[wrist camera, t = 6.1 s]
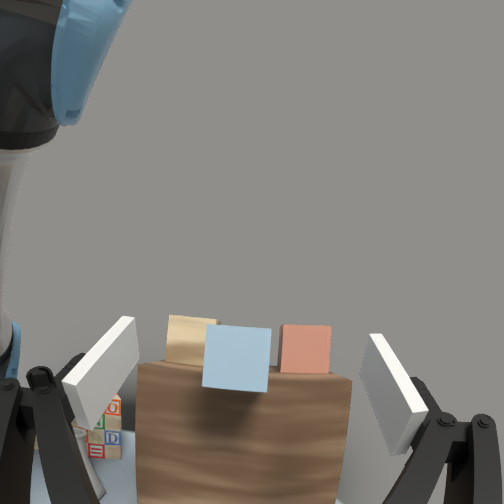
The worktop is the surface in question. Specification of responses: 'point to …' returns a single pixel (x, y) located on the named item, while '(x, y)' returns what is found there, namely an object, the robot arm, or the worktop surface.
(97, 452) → the stack of blocks
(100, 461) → the worktop surface
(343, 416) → the walnut stand
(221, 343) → the blue bar
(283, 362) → the brick cube
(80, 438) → the flask
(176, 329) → the oak cube
